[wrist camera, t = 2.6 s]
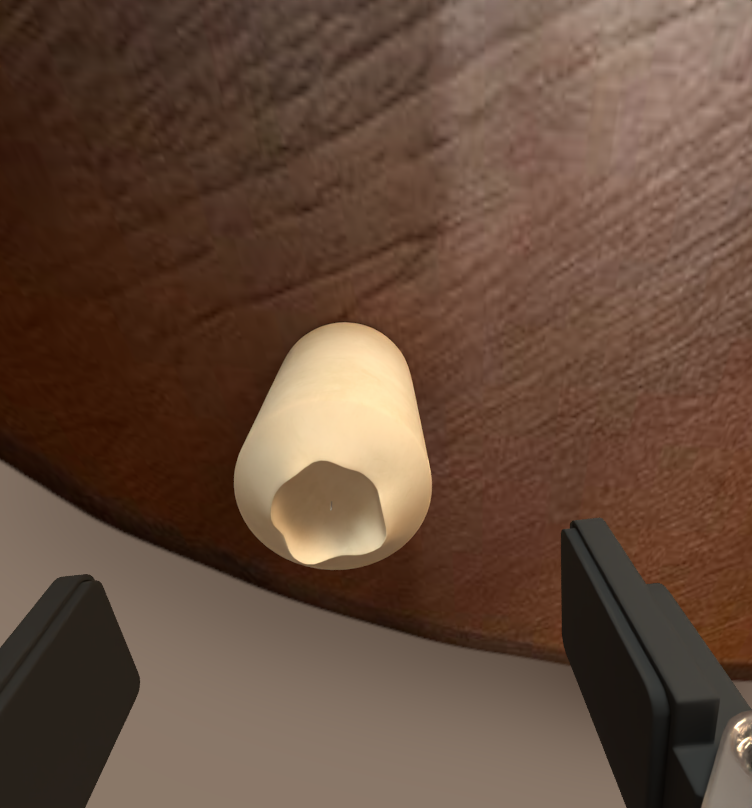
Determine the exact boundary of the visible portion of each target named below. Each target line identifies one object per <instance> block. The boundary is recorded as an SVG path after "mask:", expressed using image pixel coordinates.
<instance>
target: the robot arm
mask: <svg viewBox="0 0 752 808" xmlns="http://www.w3.org/2000/svg"><path fill="white" fill-rule="evenodd" d="M561 589H562V638H563V644H564V648H565V651H566V654H567V657H568V659H569V662H570V665H571V667H572V670H573V672H574V675H575V677H576V679H577V682H578V685H579V687H580V690H581V692H582V695H583V697H584V700H585V703H586V705H587V708H588V710H589V713H590V716H591V718H592V721H593V723H594V726H595V728H596V731H597V733H598V736H599V738H600V741H601V744H602V746H603V749H604V751H605V754H606V756H607V759H608V761H609V764H610V767H611V769H612V772H613V774H614V777H615V779H616V782H617V784H618V787H619V789H620V792H621V795H622V797H623V800H624V802H625V804H626V807H627V808H752V709H751V708H750V707H749V705H748V704H747V702H746V701H745V699H744V698H743V697H742V695H741V694H740V692H739V691H738V690H737V688H736V687H735V685H734V684H733V682H732V681H731V679H730V678H729V677H728V675H727V674H726V672H725V671H724V669H723V668H722V667H721V665H720V664H719V662H718V661H717V659H716V658H715V656H714V655H713V654H712V652H711V651H710V649H709V648H708V646H707V645H706V644H705V642H704V641H703V639H702V638H701V636H700V635H699V634H698V632H697V631H696V629H695V628H694V626H693V625H692V624H691V622H690V621H689V619H688V618H687V616H686V615H685V614H684V612H683V611H682V609H681V608H680V606H679V605H678V604H677V602H676V601H675V599H674V598H673V596H672V595H671V594H670V592H669V591H668V590H667V589H666V587H665V586H664V585H662V584H660V583H653V584H645V582H644V580H643V579H642V577H641V576H640V574H639V573H638V571H637V570H636V568H635V567H634V565H633V564H632V562H631V561H630V559H629V558H628V556H627V555H626V553H625V551H624V550H623V548H622V547H621V545H620V544H619V542H618V541H617V539H616V538H615V536H614V535H613V533H612V532H611V530H610V529H609V527H608V525H607V524H606V522H605V521H604V520H603V519H602V518H593V519H584V520H575V521H572V522H571V523H570V529H563V530H562V531H561ZM139 687H140V677H139V674H138V671H137V669H136V666H135V664H134V661H133V659H132V656H131V654H130V652H129V649H128V647H127V644H126V642H125V639H124V637H123V635H122V632H121V630H120V627H119V625H118V622H117V620H116V617H115V615H114V612H113V610H112V607H111V605H110V602H109V600H108V598H107V596H106V593H105V590H104V588H103V586H102V584H101V583H100V582H99V581H95V580H94V578H93V577H92V576H91V575H88V574H84V575H74V576H65V577H60V578H57V579H56V580H55V581H54V582H53V583H52V584H51V586H50V587H49V588H48V589H47V590H46V592H45V593H44V594H43V595H42V597H41V598H40V599H39V600H38V602H37V603H36V604H35V606H34V607H33V608H32V609H31V610H30V612H29V613H28V614H27V615H26V617H25V618H24V619H23V620H22V622H21V623H20V624H19V625H18V627H17V628H16V629H15V630H14V631H13V633H12V634H11V635H10V637H9V638H8V639H7V640H6V641H5V643H4V644H3V645H2V646H1V648H0V808H85V807H86V804H87V802H88V800H89V798H90V796H91V793H92V792H93V789H94V787H95V785H96V783H97V781H98V779H99V776H100V774H101V772H102V770H103V768H104V766H105V764H106V762H107V759H108V757H109V755H110V753H111V750H112V749H113V746H114V744H115V742H116V740H117V738H118V736H119V734H120V732H121V729H122V727H123V725H124V723H125V721H126V719H127V716H128V714H129V712H130V710H131V708H132V706H133V704H134V702H135V699H136V697H137V694H138V692H139Z"/></svg>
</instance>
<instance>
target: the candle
mask: <svg viewBox="0 0 752 808" xmlns="http://www.w3.org/2000/svg"><path fill="white" fill-rule="evenodd" d="M234 491H235V498H236V501H237V505H238V508H239V510H240V513H241V515H242V517H243V519H244V521H245V522H246V524H247V525H248V527H249V529H250V530H251V531H252V532H253V533H254V535H255V536H256V537H257V538H258V539H259V540H260V541H261V542H262V543H263V544H264V545H265V546H267V547H268V548H269V549H271V550H272V551H274V552H275V553H277V554H278V555H280V556H282V557H284V558H286V559H288V560H290V561H293V562H295V563H298V564H301V565H304V566H307V567H312V568H318V569H327V570H345V569H353V568H358V567H362V566H367V565H370V564H372V563H375V562H378V561H380V560H382V559H384V558H386V557H388V556H390V555H391V554H393V553H394V552H396V551H397V550H399V549H400V548H401V547H402V546H404V545H405V544H406V543H407V542H408V541H409V540H410V539H411V538H412V537H413V536H414V534H415V533H416V532H417V530H418V529H419V527H420V526H421V524H422V522H423V520H424V518H425V516H426V514H427V511H428V508H429V505H430V500H431V494H432V479H431V471H430V466H429V461H428V456H427V451H426V446H425V441H424V436H423V431H422V427H421V422H420V417H419V412H418V407H417V402H416V397H415V392H414V388H413V383H412V378H411V375H410V371H409V368H408V365H407V363H406V360H405V358H404V356H403V355H402V353H401V352H400V350H399V349H398V348H397V347H396V345H395V344H394V343H393V342H392V341H391V340H390V339H389V338H387V337H386V336H385V335H383V334H382V333H381V332H379V331H377V330H375V329H373V328H371V327H368V326H365V325H362V324H357V323H349V322H340V323H332V324H328V325H324V326H321V327H319V328H317V329H314V330H313V331H311V332H309V333H308V334H306V335H305V336H303V337H302V338H301V339H300V340H298V342H297V343H296V344H295V345H294V346H293V347H292V348H291V350H290V351H289V353H288V354H287V356H286V358H285V359H284V361H283V363H282V365H281V367H280V369H279V372H278V374H277V376H276V378H275V380H274V382H273V384H272V386H271V388H270V390H269V392H268V395H267V397H266V399H265V401H264V403H263V405H262V407H261V409H260V411H259V413H258V415H257V417H256V420H255V422H254V424H253V426H252V428H251V430H250V432H249V434H248V436H247V438H246V440H245V443H244V445H243V447H242V449H241V451H240V453H239V456H238V459H237V462H236V467H235V473H234Z"/></svg>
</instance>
